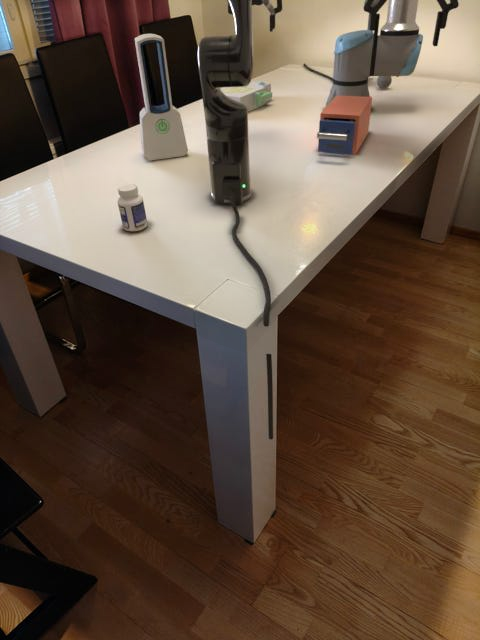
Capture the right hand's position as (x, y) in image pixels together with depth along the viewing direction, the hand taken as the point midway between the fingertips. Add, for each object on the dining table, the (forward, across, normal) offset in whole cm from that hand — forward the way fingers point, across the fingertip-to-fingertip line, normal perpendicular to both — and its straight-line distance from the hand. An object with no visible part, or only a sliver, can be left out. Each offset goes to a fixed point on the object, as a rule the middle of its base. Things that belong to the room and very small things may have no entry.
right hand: (404, 46), depth 114 cm
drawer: (+26, -13, +7) cm, 30 cm away
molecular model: (+27, -7, +81) cm, 85 cm away
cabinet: (+27, -12, +13) cm, 32 cm away
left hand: (-2, -38, +17) cm, 41 cm away
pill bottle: (+26, -56, -44) cm, 76 cm away
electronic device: (+26, -62, 0) cm, 68 cm away
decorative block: (+27, -50, +51) cm, 76 cm away
